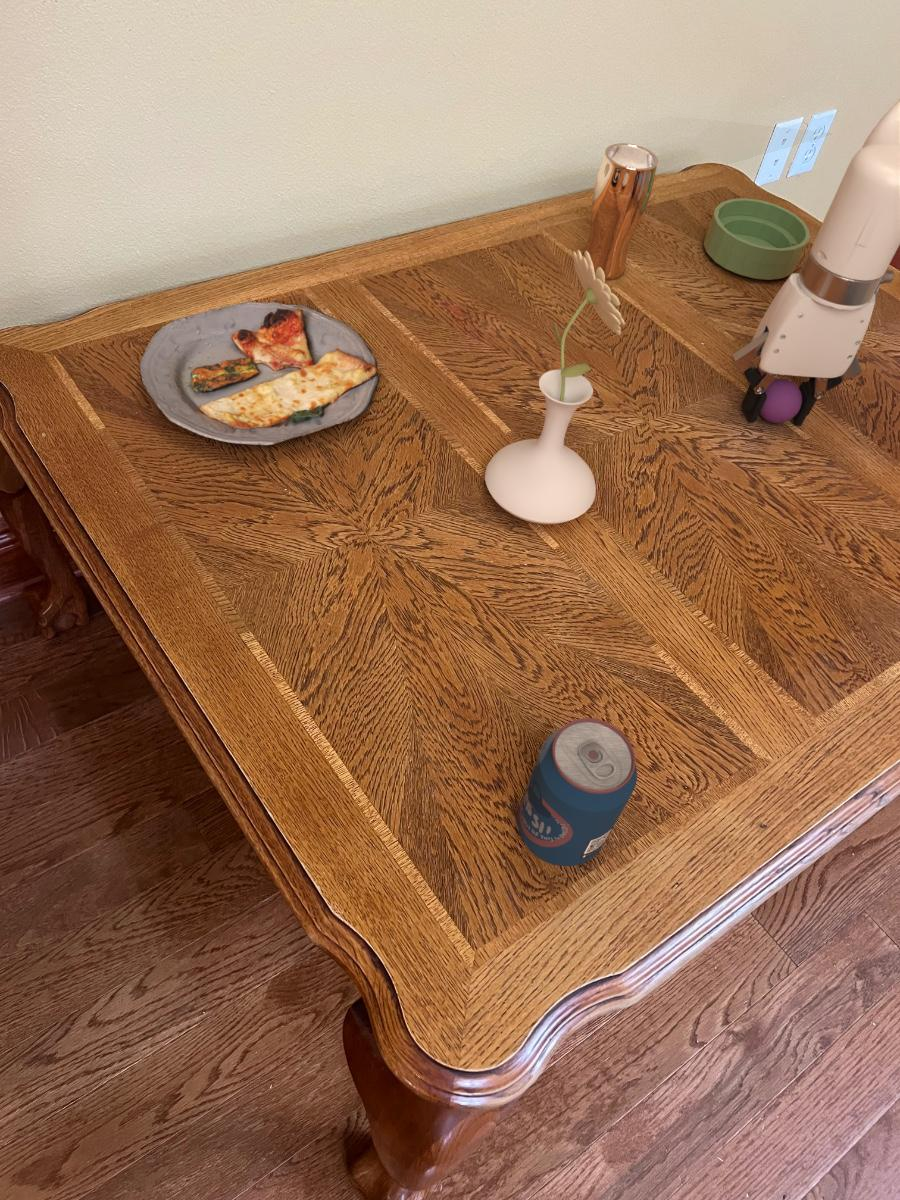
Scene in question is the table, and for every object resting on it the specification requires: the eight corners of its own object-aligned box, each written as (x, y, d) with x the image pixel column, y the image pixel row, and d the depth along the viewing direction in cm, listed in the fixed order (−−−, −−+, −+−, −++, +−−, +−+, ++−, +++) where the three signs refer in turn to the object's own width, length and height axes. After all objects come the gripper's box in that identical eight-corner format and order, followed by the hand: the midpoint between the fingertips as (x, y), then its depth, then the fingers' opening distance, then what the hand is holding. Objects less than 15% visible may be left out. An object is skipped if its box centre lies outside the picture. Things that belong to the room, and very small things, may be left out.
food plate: (312, 298, 113) (312, 272, 111) (417, 412, 102) (420, 386, 100) (110, 352, 103) (105, 325, 100) (203, 486, 92) (200, 459, 89)
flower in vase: (597, 538, 93) (672, 324, 74) (484, 530, 92) (530, 310, 73) (584, 450, 102) (649, 236, 82) (480, 441, 101) (521, 222, 81)
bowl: (781, 235, 137) (795, 202, 133) (806, 287, 128) (821, 254, 124) (694, 227, 135) (705, 194, 131) (713, 279, 127) (726, 245, 123)
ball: (785, 405, 111) (802, 371, 107) (796, 433, 108) (814, 399, 104) (744, 402, 110) (760, 367, 107) (755, 430, 107) (771, 396, 103)
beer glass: (568, 254, 126) (594, 142, 115) (615, 251, 128) (645, 141, 117) (588, 283, 123) (617, 171, 111) (635, 280, 124) (669, 169, 113)
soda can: (497, 814, 73) (524, 735, 64) (567, 776, 76) (603, 695, 67) (547, 889, 70) (584, 817, 61) (619, 847, 73) (664, 772, 63)
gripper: (905, 263, 98) (831, 400, 112) (750, 249, 96) (694, 390, 110) (931, 304, 94) (850, 442, 108) (768, 290, 92) (707, 433, 106)
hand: (771, 415), depth 109 cm, fingers closed on ball, 4 cm apart
